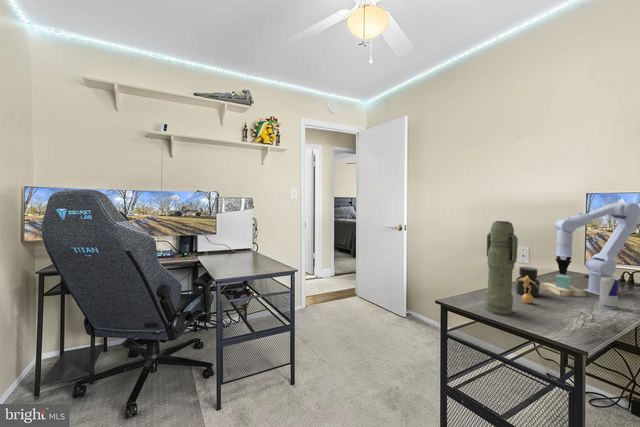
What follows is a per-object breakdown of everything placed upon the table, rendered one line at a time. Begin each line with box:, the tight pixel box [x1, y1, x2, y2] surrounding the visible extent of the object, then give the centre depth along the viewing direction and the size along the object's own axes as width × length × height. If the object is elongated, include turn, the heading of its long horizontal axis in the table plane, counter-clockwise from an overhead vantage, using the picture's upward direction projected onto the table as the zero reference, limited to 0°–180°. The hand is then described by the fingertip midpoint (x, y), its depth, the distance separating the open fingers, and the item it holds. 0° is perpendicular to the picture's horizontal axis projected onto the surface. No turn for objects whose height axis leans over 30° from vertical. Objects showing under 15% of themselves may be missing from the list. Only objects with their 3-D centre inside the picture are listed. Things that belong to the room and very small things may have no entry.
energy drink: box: [598, 277, 620, 310], centre depth 119 cm, size 5×5×12 cm
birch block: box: [540, 282, 588, 297], centre depth 139 cm, size 12×12×3 cm
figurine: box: [515, 276, 540, 304], centre depth 122 cm, size 8×6×12 cm
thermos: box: [485, 220, 518, 316], centre depth 113 cm, size 9×12×35 cm
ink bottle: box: [515, 266, 541, 298], centre depth 134 cm, size 10×9×12 cm
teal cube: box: [555, 274, 571, 289], centre depth 139 cm, size 5×5×5 cm
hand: (562, 272), depth 140 cm, fingers open, 7 cm apart
